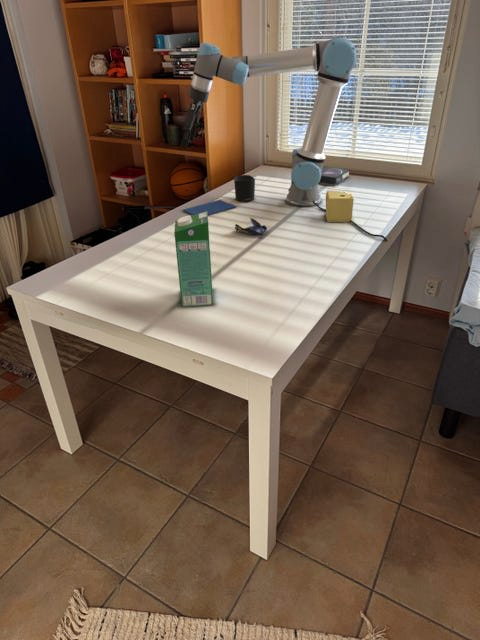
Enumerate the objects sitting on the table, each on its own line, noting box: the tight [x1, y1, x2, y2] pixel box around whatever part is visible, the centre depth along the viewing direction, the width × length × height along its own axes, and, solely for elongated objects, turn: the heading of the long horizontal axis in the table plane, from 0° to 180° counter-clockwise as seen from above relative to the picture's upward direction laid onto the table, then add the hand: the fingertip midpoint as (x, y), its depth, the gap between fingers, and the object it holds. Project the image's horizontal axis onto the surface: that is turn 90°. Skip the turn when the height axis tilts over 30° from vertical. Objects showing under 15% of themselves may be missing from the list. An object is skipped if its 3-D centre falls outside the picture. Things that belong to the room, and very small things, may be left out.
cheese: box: [325, 190, 355, 223], centre depth 191 cm, size 10×11×10 cm
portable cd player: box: [318, 166, 350, 186], centre depth 241 cm, size 16×17×4 cm
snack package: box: [234, 217, 268, 236], centre depth 180 cm, size 12×6×12 cm
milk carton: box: [173, 211, 214, 307], centre depth 132 cm, size 9×9×25 cm
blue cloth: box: [182, 199, 237, 216], centre depth 206 cm, size 12×20×1 cm, turn 128°
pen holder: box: [233, 174, 256, 203], centre depth 214 cm, size 9×9×10 cm
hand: (186, 143), depth 191 cm, fingers open, 13 cm apart
